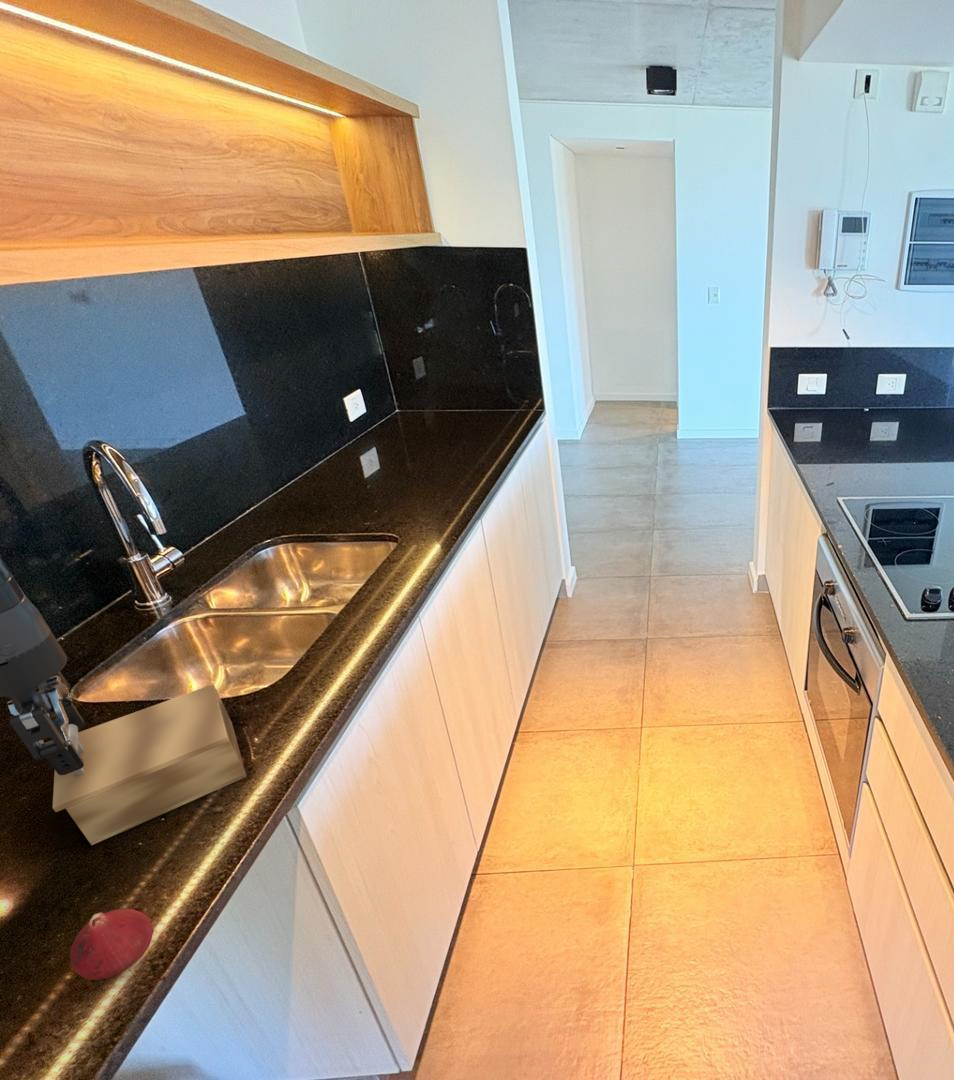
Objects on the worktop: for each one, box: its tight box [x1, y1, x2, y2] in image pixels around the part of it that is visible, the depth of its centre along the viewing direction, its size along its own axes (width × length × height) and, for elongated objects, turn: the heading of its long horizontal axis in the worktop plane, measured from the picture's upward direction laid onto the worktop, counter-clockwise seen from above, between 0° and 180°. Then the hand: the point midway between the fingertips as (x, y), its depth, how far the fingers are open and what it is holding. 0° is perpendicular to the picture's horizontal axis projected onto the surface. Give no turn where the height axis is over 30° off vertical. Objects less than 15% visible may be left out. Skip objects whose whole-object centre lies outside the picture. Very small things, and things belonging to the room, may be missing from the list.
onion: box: [69, 908, 155, 981], centre depth 61 cm, size 6×6×8 cm
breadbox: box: [65, 689, 247, 846], centre depth 82 cm, size 16×14×7 cm
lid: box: [52, 683, 229, 813], centre depth 79 cm, size 16×14×5 cm
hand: (73, 749), depth 75 cm, fingers open, 8 cm apart
